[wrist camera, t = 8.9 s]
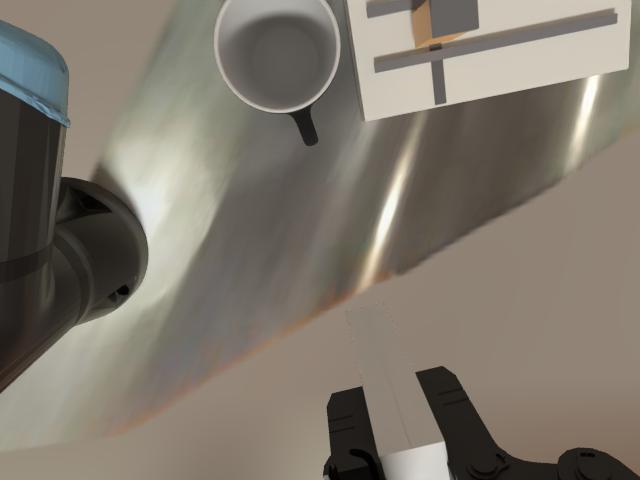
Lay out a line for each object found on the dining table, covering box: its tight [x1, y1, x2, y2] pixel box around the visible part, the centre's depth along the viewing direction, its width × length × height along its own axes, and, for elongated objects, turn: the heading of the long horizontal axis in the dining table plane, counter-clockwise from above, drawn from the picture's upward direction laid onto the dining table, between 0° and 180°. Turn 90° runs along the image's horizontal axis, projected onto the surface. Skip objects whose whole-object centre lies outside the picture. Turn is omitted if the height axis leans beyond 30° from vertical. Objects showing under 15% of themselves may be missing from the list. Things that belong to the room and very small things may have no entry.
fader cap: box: [412, 0, 479, 48], centre depth 31 cm, size 3×3×6 cm
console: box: [344, 0, 631, 122], centre depth 35 cm, size 24×13×3 cm, turn 101°
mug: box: [213, 0, 341, 146], centre depth 33 cm, size 12×9×10 cm
